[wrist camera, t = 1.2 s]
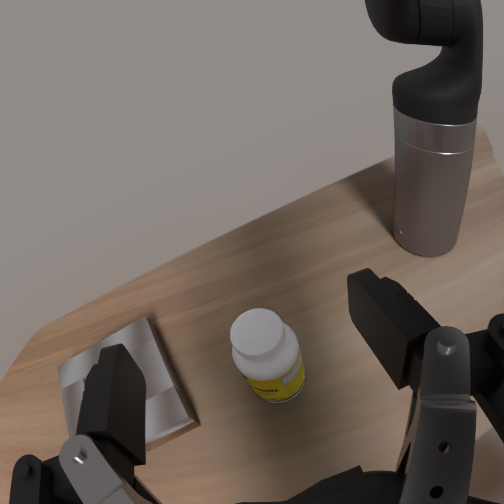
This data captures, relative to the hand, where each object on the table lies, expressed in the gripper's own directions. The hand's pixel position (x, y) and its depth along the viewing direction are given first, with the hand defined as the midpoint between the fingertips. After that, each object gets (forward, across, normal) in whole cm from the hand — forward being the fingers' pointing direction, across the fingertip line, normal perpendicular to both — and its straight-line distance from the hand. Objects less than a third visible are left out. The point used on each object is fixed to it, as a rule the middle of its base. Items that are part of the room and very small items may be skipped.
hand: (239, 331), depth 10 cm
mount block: (+14, +16, +19) cm, 28 cm away
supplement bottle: (+12, -1, +18) cm, 22 cm away
